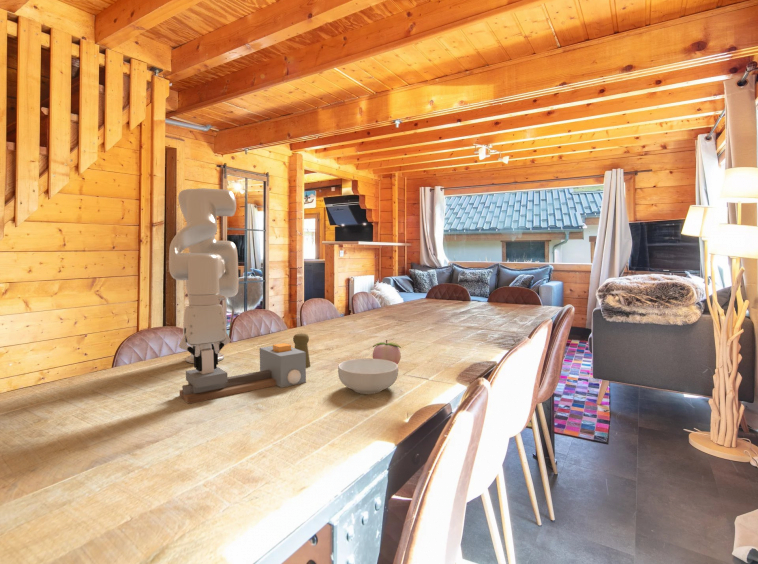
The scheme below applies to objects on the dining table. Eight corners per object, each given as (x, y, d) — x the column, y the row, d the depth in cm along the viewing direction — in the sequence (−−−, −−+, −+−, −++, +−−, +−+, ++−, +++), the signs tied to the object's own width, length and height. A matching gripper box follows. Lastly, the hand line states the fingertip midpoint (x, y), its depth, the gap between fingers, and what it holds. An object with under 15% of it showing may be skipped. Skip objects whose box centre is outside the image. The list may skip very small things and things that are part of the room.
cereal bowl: (392, 402, 110) (392, 374, 109) (330, 397, 113) (330, 371, 112) (402, 382, 126) (402, 358, 126) (347, 379, 129) (347, 356, 129)
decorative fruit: (401, 367, 143) (401, 337, 142) (400, 373, 135) (400, 342, 134) (373, 366, 144) (373, 336, 143) (370, 373, 136) (370, 341, 135)
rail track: (179, 395, 114) (179, 382, 114) (264, 379, 130) (264, 367, 129) (188, 403, 108) (188, 390, 108) (276, 385, 123) (276, 373, 123)
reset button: (273, 358, 129) (272, 344, 129) (285, 355, 131) (284, 343, 131) (279, 360, 126) (278, 347, 126) (291, 358, 128) (291, 345, 128)
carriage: (186, 387, 116) (185, 348, 115) (216, 381, 121) (215, 344, 120) (196, 395, 109) (195, 355, 108) (227, 389, 114) (226, 350, 113)
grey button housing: (260, 376, 132) (259, 347, 131) (283, 372, 137) (283, 344, 136) (282, 388, 121) (281, 356, 120) (306, 382, 126) (306, 352, 125)
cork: (306, 369, 141) (306, 335, 140) (289, 368, 142) (288, 335, 141) (313, 364, 147) (312, 332, 146) (296, 363, 148) (295, 331, 147)
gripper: (229, 297, 121) (231, 361, 123) (167, 301, 111) (169, 371, 112) (240, 299, 116) (241, 366, 117) (174, 304, 105) (177, 377, 107)
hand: (206, 368), depth 115 cm, fingers closed on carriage, 3 cm apart
